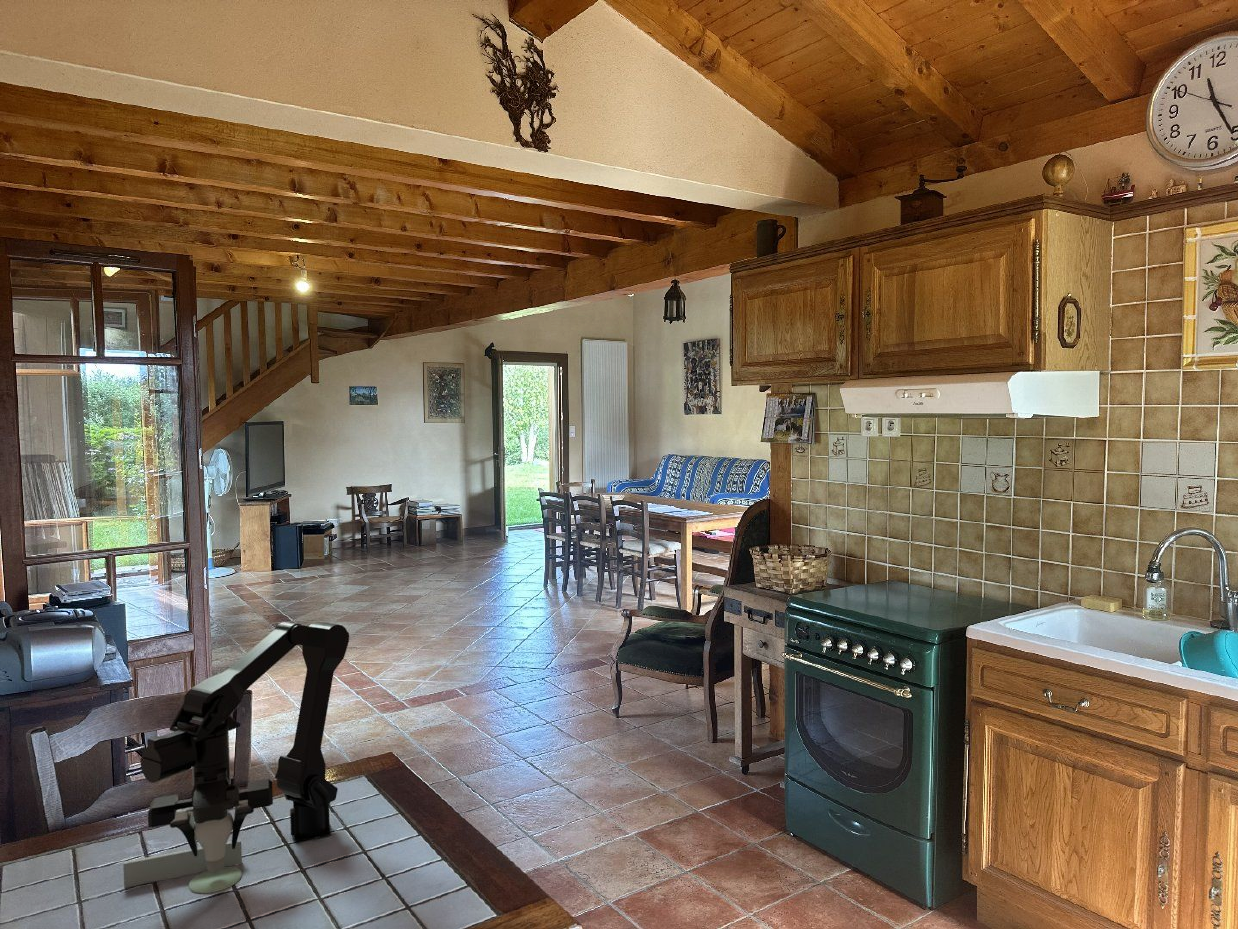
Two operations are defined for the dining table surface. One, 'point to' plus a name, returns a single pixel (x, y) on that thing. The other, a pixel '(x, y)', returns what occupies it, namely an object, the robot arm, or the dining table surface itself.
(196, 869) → the grey-green flat bar
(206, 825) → the lightbulb
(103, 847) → the dining table surface
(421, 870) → the dining table surface
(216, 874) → the pad
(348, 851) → the dining table surface
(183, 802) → the robot arm
